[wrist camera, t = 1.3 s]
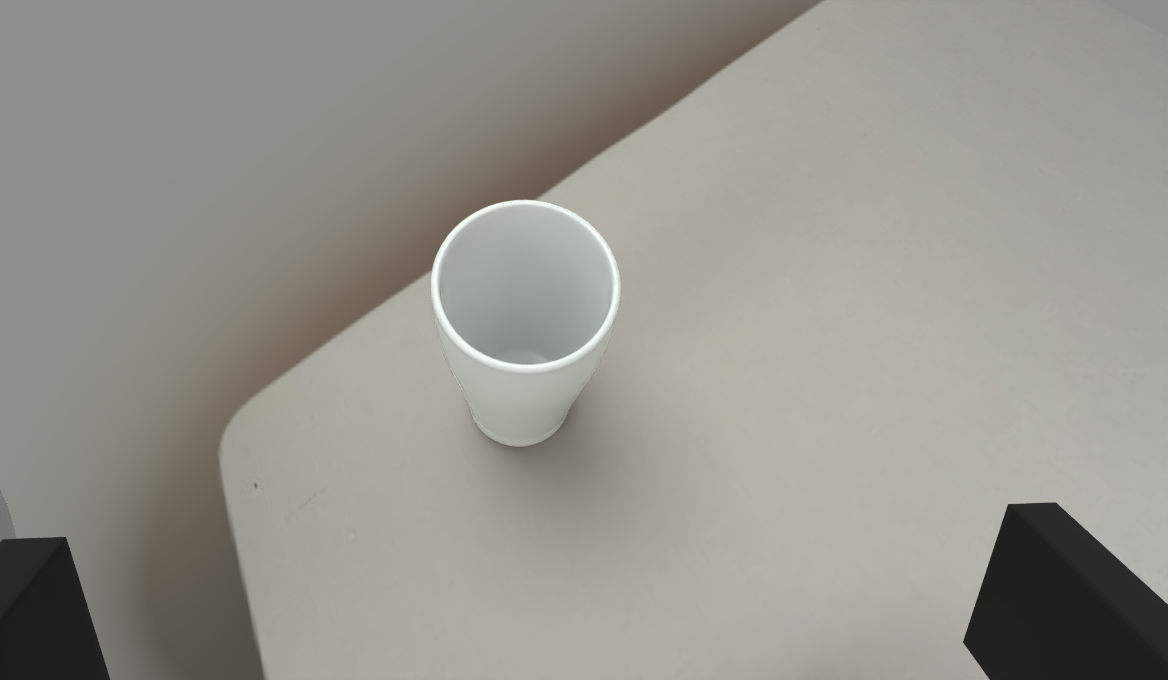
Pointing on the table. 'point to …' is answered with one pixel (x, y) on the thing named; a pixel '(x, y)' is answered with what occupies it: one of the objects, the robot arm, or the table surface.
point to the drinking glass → (523, 314)
